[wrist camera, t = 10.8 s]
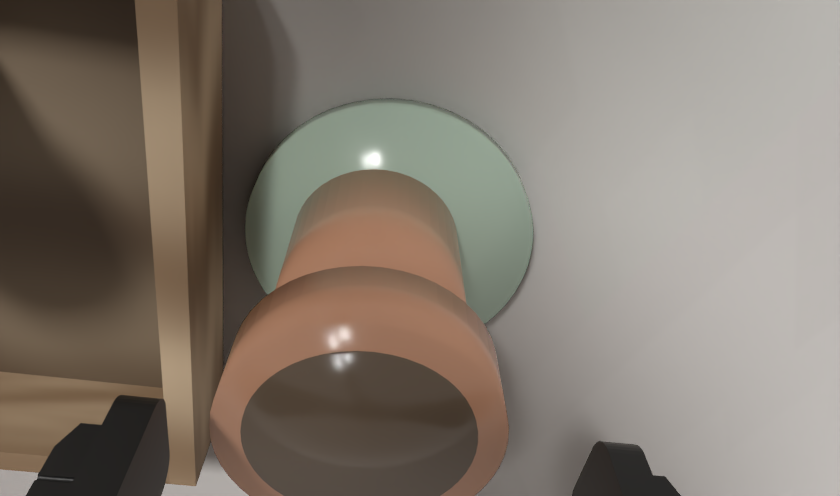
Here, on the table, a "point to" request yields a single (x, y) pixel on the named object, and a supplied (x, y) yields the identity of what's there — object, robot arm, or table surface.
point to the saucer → (413, 156)
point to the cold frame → (109, 220)
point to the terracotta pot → (364, 357)
